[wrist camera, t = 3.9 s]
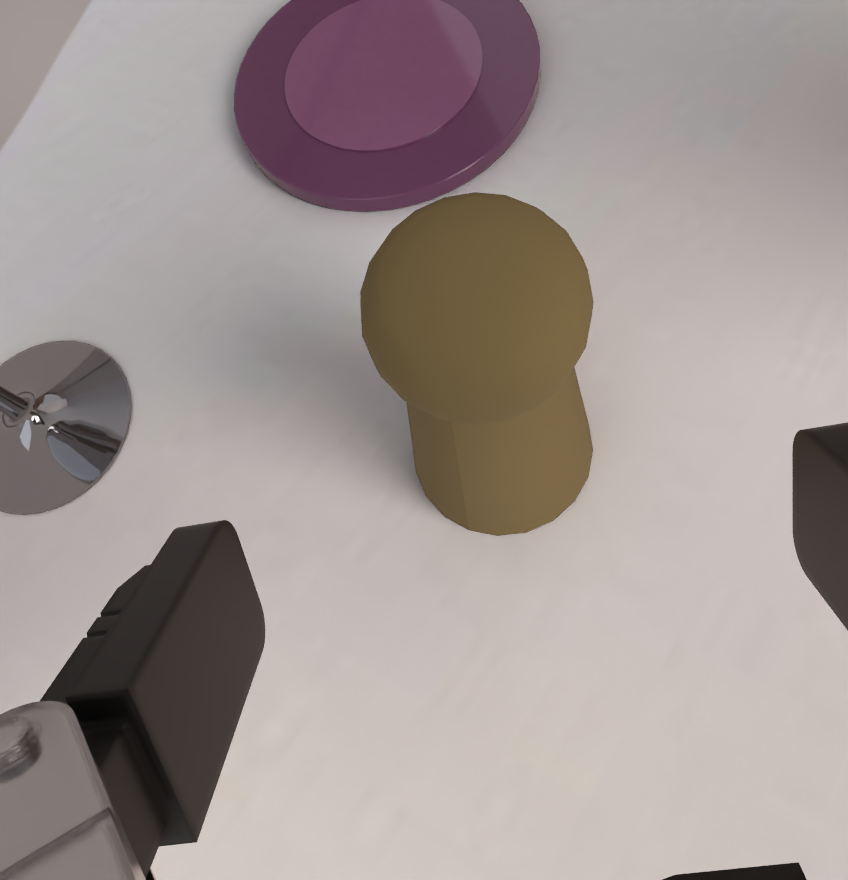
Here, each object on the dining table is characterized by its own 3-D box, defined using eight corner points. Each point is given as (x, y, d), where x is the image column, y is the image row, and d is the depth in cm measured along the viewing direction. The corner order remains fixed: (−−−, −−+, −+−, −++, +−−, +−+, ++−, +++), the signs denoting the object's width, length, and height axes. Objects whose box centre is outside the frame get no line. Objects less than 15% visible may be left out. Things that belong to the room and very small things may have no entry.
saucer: (458, -68, 35) (455, -87, 34) (598, 120, 30) (600, 103, 29) (203, 54, 35) (194, 38, 34) (301, 264, 30) (294, 251, 29)
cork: (488, 337, 27) (448, 105, 17) (629, 431, 25) (680, 231, 15) (378, 463, 26) (266, 297, 16) (517, 573, 24) (489, 461, 14)
